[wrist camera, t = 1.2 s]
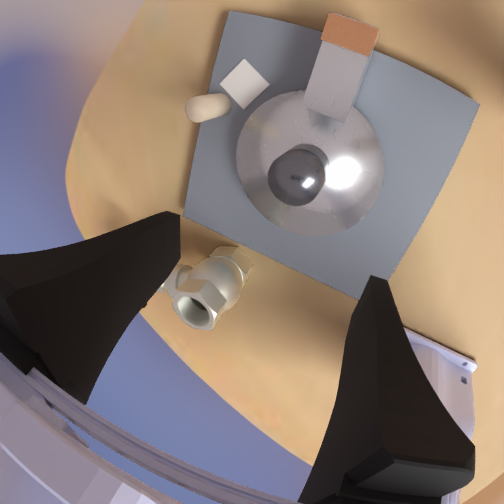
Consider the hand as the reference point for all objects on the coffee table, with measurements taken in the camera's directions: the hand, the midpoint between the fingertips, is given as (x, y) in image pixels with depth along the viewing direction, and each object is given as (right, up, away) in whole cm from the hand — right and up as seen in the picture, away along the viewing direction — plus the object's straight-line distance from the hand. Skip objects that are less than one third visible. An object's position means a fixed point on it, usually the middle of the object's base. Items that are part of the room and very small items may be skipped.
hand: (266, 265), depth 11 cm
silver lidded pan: (+4, +8, +6) cm, 10 cm away
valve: (-6, 0, +17) cm, 18 cm away
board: (+4, +7, +8) cm, 11 cm away
